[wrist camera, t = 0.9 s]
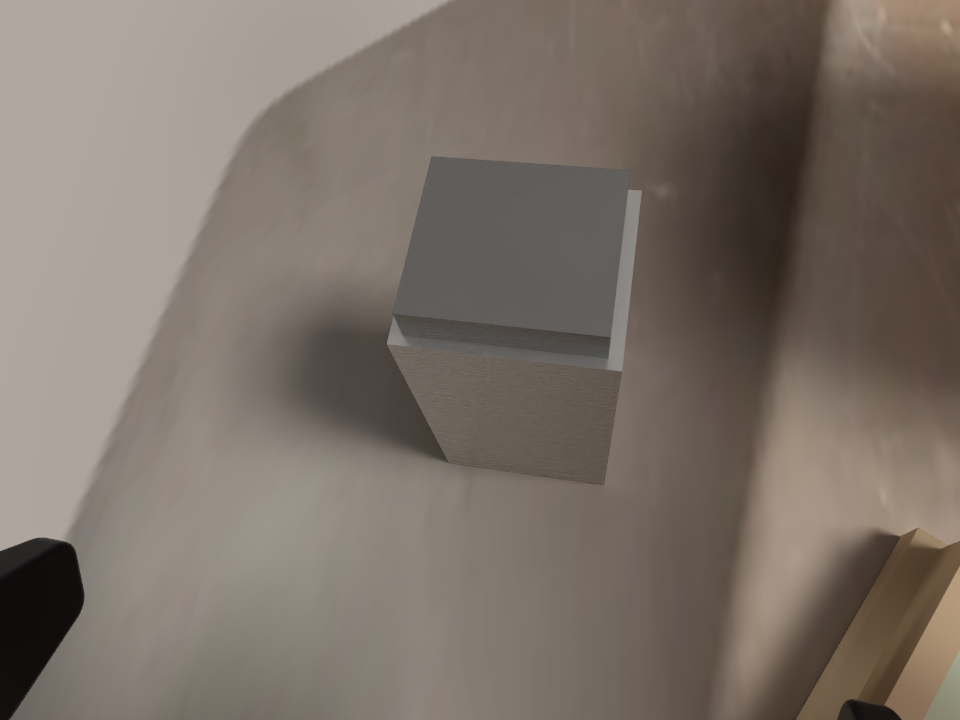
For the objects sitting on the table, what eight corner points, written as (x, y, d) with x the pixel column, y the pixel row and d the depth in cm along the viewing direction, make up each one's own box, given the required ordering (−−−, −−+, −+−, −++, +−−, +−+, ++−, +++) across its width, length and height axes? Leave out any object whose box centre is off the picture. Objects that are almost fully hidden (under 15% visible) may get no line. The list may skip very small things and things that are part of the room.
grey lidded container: (603, 485, 23) (625, 350, 14) (448, 463, 24) (375, 322, 15) (618, 355, 25) (645, 161, 16) (473, 339, 26) (421, 146, 17)
